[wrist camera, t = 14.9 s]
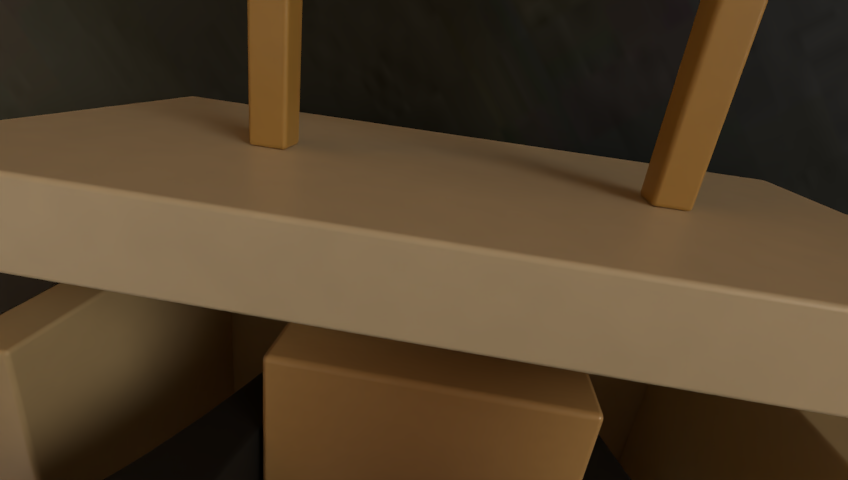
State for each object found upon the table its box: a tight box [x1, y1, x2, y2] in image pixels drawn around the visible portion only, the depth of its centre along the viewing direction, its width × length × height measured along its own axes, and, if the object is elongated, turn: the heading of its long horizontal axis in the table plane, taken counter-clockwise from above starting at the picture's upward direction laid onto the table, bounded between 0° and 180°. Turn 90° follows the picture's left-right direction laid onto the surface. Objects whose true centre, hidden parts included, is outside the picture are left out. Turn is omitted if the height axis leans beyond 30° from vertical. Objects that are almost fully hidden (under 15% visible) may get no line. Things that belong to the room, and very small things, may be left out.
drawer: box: [0, 0, 848, 480], centre depth 9 cm, size 18×13×7 cm
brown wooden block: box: [263, 322, 603, 480], centre depth 9 cm, size 4×6×4 cm
